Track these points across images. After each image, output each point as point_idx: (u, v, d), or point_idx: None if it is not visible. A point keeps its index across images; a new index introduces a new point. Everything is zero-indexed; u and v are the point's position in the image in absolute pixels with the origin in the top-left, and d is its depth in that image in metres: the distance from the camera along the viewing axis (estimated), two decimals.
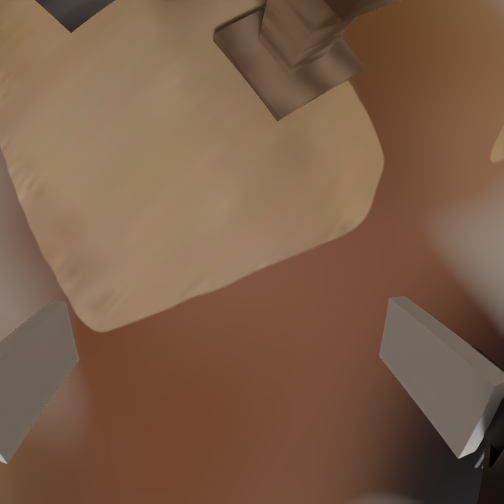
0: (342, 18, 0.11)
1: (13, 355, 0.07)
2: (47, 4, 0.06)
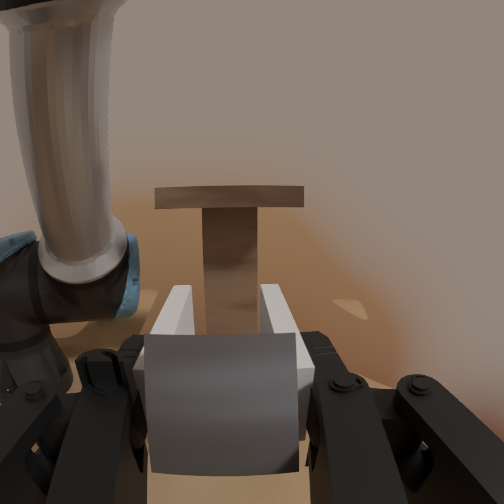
0: (302, 205, 0.29)
1: (176, 333, 0.09)
2: (295, 362, 0.06)
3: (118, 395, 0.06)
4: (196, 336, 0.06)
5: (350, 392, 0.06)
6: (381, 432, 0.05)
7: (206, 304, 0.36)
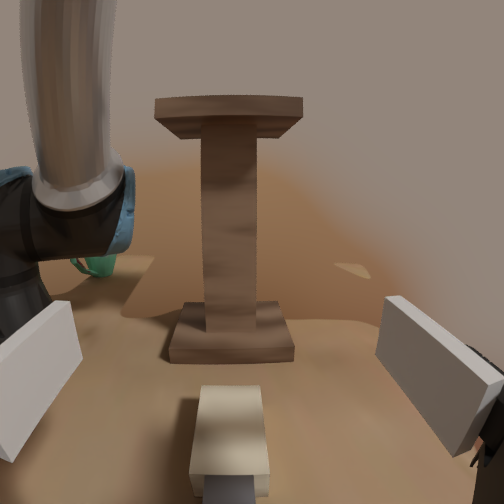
0: (301, 115, 0.28)
1: (18, 354, 0.07)
2: None
3: None
4: None
5: None
6: None
7: (203, 228, 0.34)
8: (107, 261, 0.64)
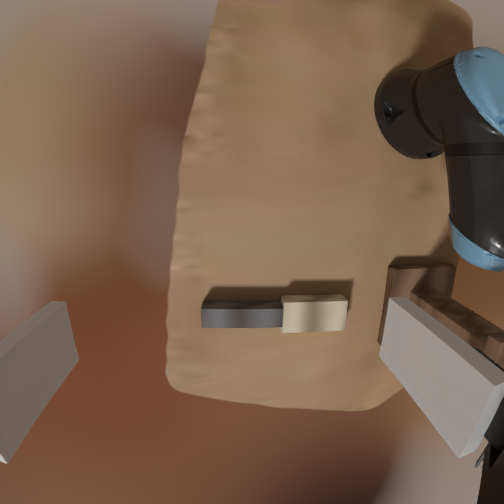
0: None
1: (13, 355, 0.07)
2: None
3: None
4: (201, 315, 0.45)
5: None
6: None
7: (453, 322, 0.35)
8: None
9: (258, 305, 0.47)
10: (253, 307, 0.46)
